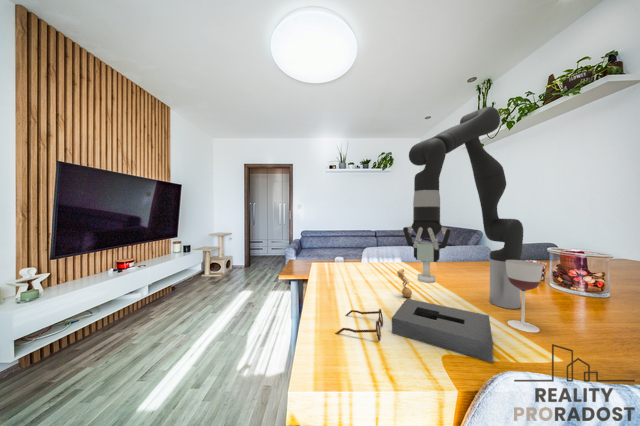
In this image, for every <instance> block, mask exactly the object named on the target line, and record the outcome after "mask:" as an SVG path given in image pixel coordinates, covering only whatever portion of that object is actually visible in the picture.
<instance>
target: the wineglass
mask: <svg viewBox="0 0 640 426" xmlns="http://www.w3.org/2000/svg"><path fill="white" fill-rule="evenodd" d="M506 272H507V276H508V280H509V282H510V283H511V284H512V285H514V286H515V287H517V288H519V289H520V292H521V299H520V309H521V313H520V315H521V320H515V319H513V320H511V319H510V320H508V321H507V324H508V325H509V326H510V327H512V328H514V329H515V330H520V331H523V332H527V333H539V332H540V328H539V327H537V326H536V325H534V324H531V323H529V322H526V320H525V319H526V318H525V317H526V314H525V312H526V309H525V308H526V307H525V306H526V300H525V299H526V292H527V291H531V290H535V289H537V288H538V287H539V285H540V283H541V280H542V276H543V264H542V263H539V262H534V261H530V260H529V261H528V260H522V259H521V260H506Z"/></svg>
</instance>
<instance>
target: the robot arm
mask: <svg viewBox="0 0 640 426" xmlns="http://www.w3.org/2000/svg"><path fill="white" fill-rule="evenodd" d="M500 123H501V116H500V112H499V110H498V109H497V108H495V107H493V106H486V107H482V108H480V109H477V110H475V111H472V112H470V113H467V114H464V115H463V116H462V117H461V119H460V120H459V124H457V125H456V124H455V125H454V126H452V127H449V128H447V129H445V130H443V131H441V132H439V133H438V134H435V135H434V136H433V137H430V138H427V139H425V140H422V141H420V142H418V143H415V144H414V145H413V146H411V147H410V149H409V152H408V159H409V161H410V163H411V164H413V165H414V166H424V168H423V169H422V170H421V171H419V172H418V173H417V172H416V174H415V175H414V180H413V181H414V185H413V186H414V187H413V188H414V189H413V190H414V191H413V192H414V193H413V198H412V199H413V200H412V201H413V202H412V207H413V215H412V216H413V217H412V219H413V220H412V224H411V225H409V226H405V227H403V229H402V230H403V234H404V237H405V240H406V244H407V246H410V247H413V258H414V259H415V260H416V261H418V260H417V244H418V243H420V242H421V241H422V239H429V240H431V243H433V245H434V262H433V263H437V261H439V260H440V256H441V255H440V251H441V250H442V249H445V248H446V247H447V245H448V242H449V239H450V237H451V233H452V229H451V228H450V227H449V228H447V227H444V226H443V225H442V223H441V195H440V177H441V172H442V171H443V166H444V162H445V159H446V155H447V154H450V153H451V152H452V151H455V150H456V149H457V148H460V147H461V146H463V145H464V146H465V149H466V151H467V154H468V157H469V161H470V165H471V169H472V173H473V178H474V179H473V180H474V183H475V187H476V191H477V194H478V198H479V199H478V200H479V203H480V204H479V205H480V208H481V215H482V224H483V232H484V234H485V236H486V238H487V239H488V240H490V241H491V242H499V243H503V247H502V248H500V249H496V250H491V251H490V252H489V302H490V303H491V304H492V305H494V306H497V307H500V308H503V309H508V310H511V309H512V310H517V309H521V290H520V289H519V288H517V287H515V286H514V285H512V284H511V283H510V282H509V280H508V276H507V272H506V260H522V259H521V258H522V255H523V246H524V245H523V243H524V242H523V240H524V225H523V223H522V222H521V221H520V220H519V219H516V218H500V217H499V214H498V205H499V202H500V200H501V198H502V196H503V194H504V192H505V190H506V188H507V180H506V174H505V170H504V167H503V165H502V164H501V163H500V162H499V161H498V160H497V159H495V157H493V156H492V155H491V154H490V153H488V152H487V151H486V149H485V148H484V147H483V144H482V142H481V141H480V137H482V136H485V135H488V134H491V133H493V132H495V131H496V130H497V129H498V128H499V126H500ZM412 231H413V232H414V234H416V236H415V239H414V240H413V238H412V235H411V233H412ZM440 232H442V235H443V238H442V241H441V243H439V240H438V236H437V235H438V234H439V233H440Z"/></svg>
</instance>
